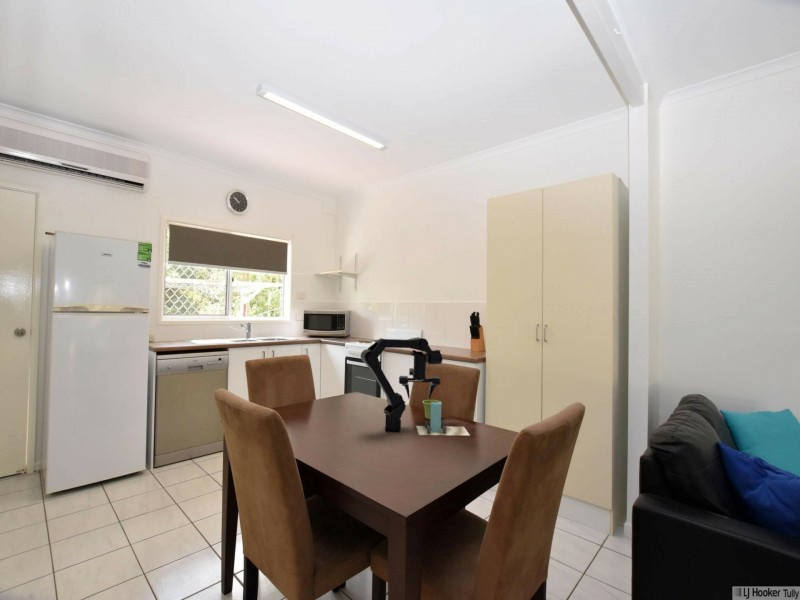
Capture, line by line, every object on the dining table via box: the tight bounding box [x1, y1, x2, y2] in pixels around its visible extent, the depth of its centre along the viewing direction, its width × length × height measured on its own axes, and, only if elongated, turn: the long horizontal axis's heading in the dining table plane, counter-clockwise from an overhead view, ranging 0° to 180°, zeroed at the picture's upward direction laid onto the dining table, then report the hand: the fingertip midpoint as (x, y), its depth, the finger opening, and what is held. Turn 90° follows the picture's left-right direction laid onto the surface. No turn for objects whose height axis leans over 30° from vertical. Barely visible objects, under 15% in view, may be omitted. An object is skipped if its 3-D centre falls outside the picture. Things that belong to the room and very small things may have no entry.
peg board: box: [415, 420, 471, 437], centre depth 166 cm, size 22×12×4 cm, turn 93°
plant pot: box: [422, 399, 442, 420], centre depth 185 cm, size 9×9×9 cm
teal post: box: [429, 401, 442, 432], centre depth 165 cm, size 4×4×12 cm
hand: (418, 399), depth 172 cm, fingers open, 9 cm apart
